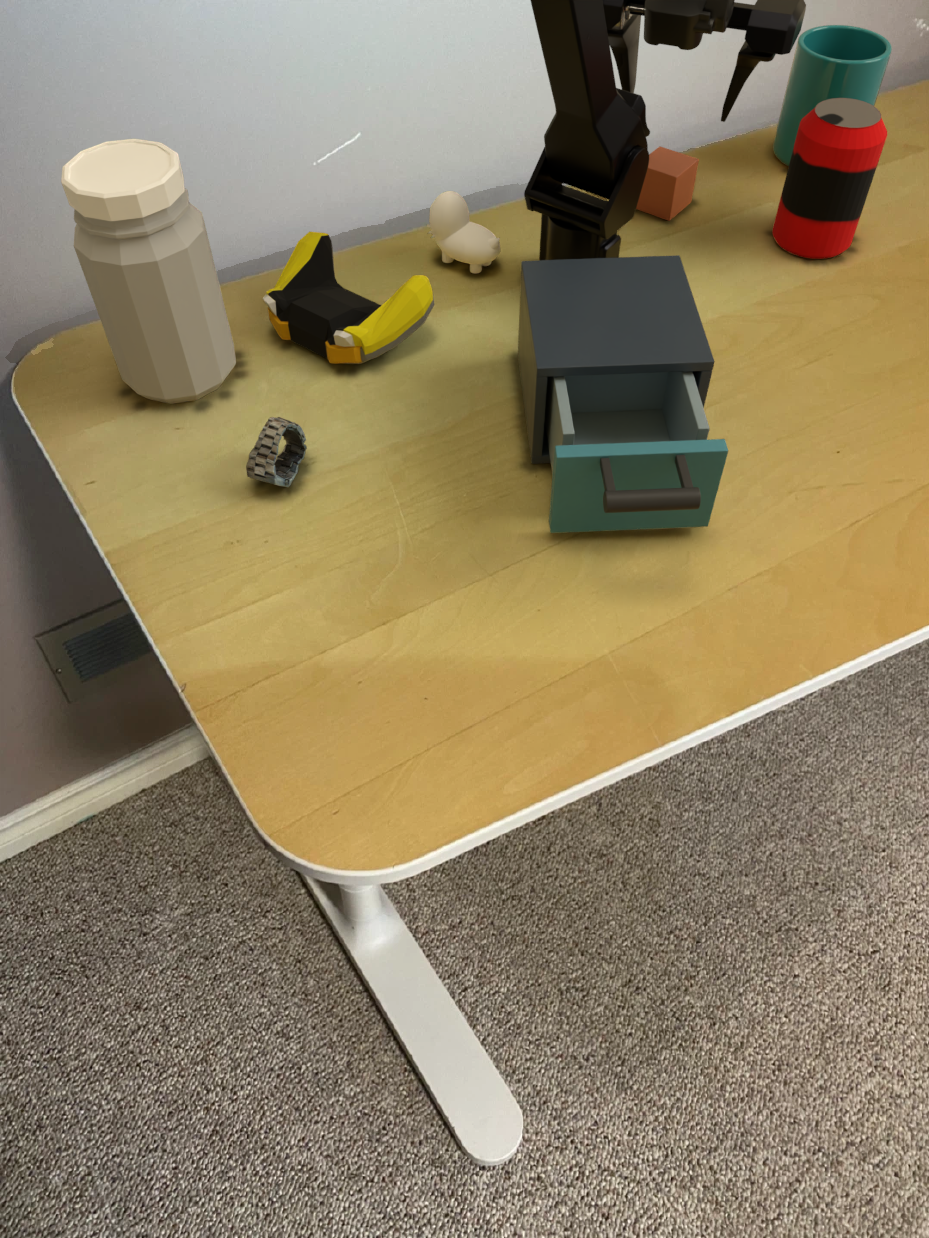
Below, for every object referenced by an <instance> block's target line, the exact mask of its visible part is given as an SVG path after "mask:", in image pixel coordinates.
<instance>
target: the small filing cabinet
mask: <svg viewBox="0 0 929 1238" xmlns="http://www.w3.org/2000/svg"><path fill="white" fill-rule="evenodd" d="M519 286H520V287H519V310H518V335H517V337H518V338H517V339H518V340H517V361H518V369H519V377H520V382H521V383H520V385H521V392H522V400H523V409H524V416H525V424H526V432H527V440H528V448H529V456H530V463H531V464H532V465H540V464H542V465H543V464H551V462H550V455H549V448H548V441H547V434H546V428H545V421H544V420H545V406H546V391H547V377H552V376H578V375H604V374H630V373H656V372H682V371H692V372H693V375H694V378H695V382H696V385H697V388H698V392H699V395H700V398H701V401H702V405H703V408H704V409H705V405H706V400H707V395H708V392H709V387H710V383H711V378H712V374H713V370H714V366H715V362H716V361H715V358H714V355H713V352H712V349H711V347H710V344H709V340H708V337H707V335H706V331H705V328H704V325H703V323H702V319H701V315H700V312H699V311H698V308H697V304H696V301H695V298H694V295H693V292H692V289H691V285H690V282H689V279H688V277H687V274H686V270H685V267H684V265H683V262H682V258H681V256H680V255H679V254H677V255H650V256H649V255H648V256H623V257H620V256H619V258H591V259H564V260H539V259H538V260H537V259H536V260H521V262H520V285H519Z"/></svg>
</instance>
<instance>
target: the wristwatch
mask: <svg viewBox="0 0 929 1238" xmlns="http://www.w3.org/2000/svg"><path fill="white" fill-rule="evenodd" d="M282 437H283V440H285V445H284V447H283V450H282V451H281V452H280V453H279V448H280V447H279V446H280V443H281V440H282ZM306 441H307V438H306V434H305V431H304V429H303V428H302V426H301V425H300V424H299V423H296V422H294V421H291V420H289V419H286V418H284V417H281V416H276V417H275V416H270V417H269V418H268V419H267V421H266V422H265V423H264V425H263V427H262V429H261V431H259V434H258V437H257V440H256V442H255V444H254V447H253V448H251V450H250V452H249V453H248V459H247V462H246V465H245V471H246V477H247V478H249V479H252V480H257V481H260V482H263V483H267V484H271V485H275V486H277V487H283V488H289V487H291V485H292V483H293V481H294V480H295V477H296V475H297V474H298V472H299V465H300V464H301V462H303V460H304V459H305V456H306V453H307V452H306V451H307V449H308V446H307V445H306V444H305V443H306Z"/></svg>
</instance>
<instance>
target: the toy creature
mask: <svg viewBox="0 0 929 1238" xmlns="http://www.w3.org/2000/svg"><path fill="white" fill-rule="evenodd" d="M470 216H471V215H470V210H469V207H468V204H467V201H466V199H464V197H463V196H462V195H461V194H459V193H458V192H456V191H453V190H447V191H443V192H442V193H440V194H438V196H437V197H435V199H434V201H433V202H432V203H431V205H430V207H429V216H428V220H429V221H428V222H429V224H426V227H428V228H429V229H430V230H429V231H428V232H427V233H426V235H431V237H430V239H434V240H435V243H436V245H437V246H438V248H439V249H440V250H441V260H442V262H443V263H445V264H451V263H453V262H454V261H455V260H456V261H458V262H461V263H465V264H468V265H469V272H470V273H472V274H479V273H481V272H482V270H483V267H487V266H490V265H491V264H492V261H494V260H496V259H497V258H498V256H499V255H500V253H501V249H502V248H501V243H500V239H501V237H497V236H496V235H495V234H494V233H493V231H492V230H490V229H488V228H487V227H486V226H485V225H484V226H483V225H481V224H479V223H477V222H474V221H470V220H471V219H470Z"/></svg>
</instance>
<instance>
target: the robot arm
mask: <svg viewBox="0 0 929 1238" xmlns="http://www.w3.org/2000/svg"><path fill="white" fill-rule="evenodd" d="M530 5H531V10H532V14H533V17H534V21H535V25H536V30H537V34H538V39H539V44H540V46H541V51H542V56H543V60H544V64H545V69H546V73H547V77H548V81H549V86H550V91H551V94H552V98H553V102H554V108H555V114H554V115H553V117H552V119H551V121H550V123H549V125H548V126H547V129H546V131H545V132H544V136H543V141H544V147H543V150H542V152H541V154H540V156H539V159H538V160H537V163H536V164H535V167H534V169H533V172H532V174H531V176H530V178H529V181H528V183H527V185H526V187H525V189H524V192H523V195H524V201H525V205H526V210H528V211H531V212H535V213H538V214H541V216H540V217H541V219H540V220H541V221H540V236H539V253H538V257H539V258H538V260H564V259H591V258H619V257H620V249H621V242H622V241H621V240H622V238H621V236H620V234H618V231H619V230H620V229H622V228H623V227H624V226H625V225H626V224H628V223H629V222H630V221H631V220H632V219H634V216H635V214H636V210H637V209H636V207H637V204H638V200H639V197H640V193H641V190H642V186H643V183H644V180H645V176H646V173H647V169H648V165H649V154H650V153H649V148H648V145H649V144H648V140H647V137H649V136H650V134H651V130H650V129H649V127H648V124H647V106H646V102H645V100H644V98H643V96H642V95H641V94H638V93H635V88H636V83H637V70H638V59H639V46H640V36H641V35H640V34H641V22H642V16H643V19H644V20H643V40H644V42H645V43H646V44H648V45H651V46H658V45H664V46H669V47H677V48H678V49H680V50H682V51H692V50H695V49H696V48H698V47H699V46H700V44H701V42H702V40H703V35H704V34H705V35H712V34H713V33H714V32H716V33H721V34H723V33H725V32H726V31H727V29H732V30H738V31H745V35H744V42H743V44H742V46H741V48H740V49H739V51H738V53H737V58H736V62H735V67H734V71H733V74H732V77H731V80H730V83H729V85H728V89H727V92H726V96H725V99H724V101H723V105H722V110H721V117H720V122H722V123H725V122H726V121H727V119H728V116H729V115H730V113H731V111H732V109H733V107H734V105H735V103H736V101H737V99H738V98H739V95H740V94H741V91H742V89H743V87H744V86H745V84H746V82H747V80H748V79H749V77H750V76H751V74H752V73H753V71H754V70H755V68H756V67H758V64H759V63H761V62H763V63H769V62H771V61H773V60H774V58H775V57H776V55H779V56H782V55H787V54H790V53H791V52H792V49H793V48H794V45H795V43H796V41H797V40H798V38H799V36H800V34H801V31H802V26H803V23H804V19H805V16H806V15H805V14H806V10H807V4H806V1H805V0H756V1H755V3H754V4H750V3H743V2H736V1H735V0H530ZM611 52H612V53H611ZM612 55H613V58H614V60H615V65H616V68H617V74H618V77H619V78H618V79H619V83H620V87H621V88H618V87H617V85H616V84H617V83H616V78H615V71H614V66H613V65H614V64H613V60H612V59H613V58H612ZM567 185H568V186H567ZM589 193H590V194H589ZM592 194H593V195H592ZM594 195H595V196H594ZM597 196H598V197H597ZM599 197H600V198H599ZM603 198H604V199H603ZM605 199H607V200H605Z"/></svg>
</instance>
